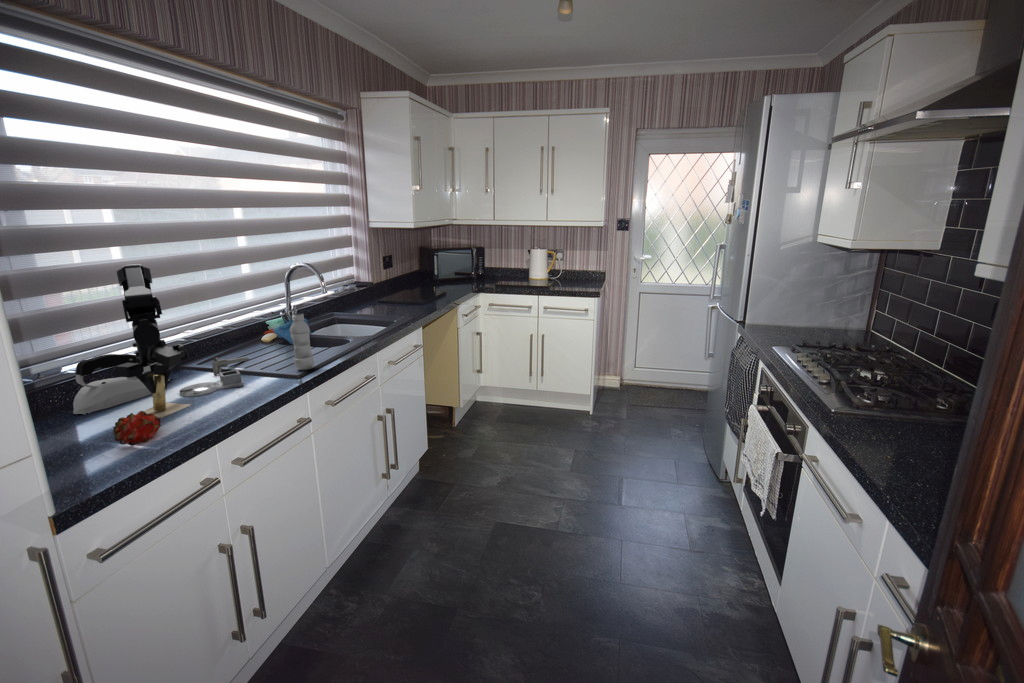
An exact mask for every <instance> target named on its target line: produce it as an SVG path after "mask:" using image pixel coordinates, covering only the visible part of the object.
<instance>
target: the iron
mask: <svg viewBox="0 0 1024 683" xmlns="http://www.w3.org/2000/svg"><path fill="white" fill-rule="evenodd" d="M136 358H137V357H136V355H135V354H125V353H124V354H123V353H121V354H119V353H118V354H117V353H115V354H114V353H109V354H101V355H98V356H94V357H91V358H87V359H82V360H81V361H78V363H77V365H76V369H75V381H76V383H77V384H78V385H81V386H82V387H81V388H80V389H79V390H78V392H77V393H76V394H75V396H74V399H73V402H72V406H73V411H72V414H73V415H77V414H83V415H87V414H86V413H88V414H91V413H93V412H97V411H100V410H105V409H109V408H112V407H115V406H118V405H121V404H125V403H128V402H131V401H134V400H137V399H142V398H144V397H146V396H149V395H153V393H151V392H150V391H149V390H148V389H147V388H146V386H145V385H144V384H143V383H142V382H141V381H140V380H139V379H138V378H137V377H136V376H135V377H131V378H127V377H113V378H112V377H111V378H104V379H100V380H94V381H90V382H89V383H87V384H86V383H85V381H84V377H86V376H90V375H93V373H94V371H95V370H97V369H108V368H115V366H118V365H121V364H125V363H137V361H136ZM168 381H169V380H168ZM169 382H170V381H169Z"/></svg>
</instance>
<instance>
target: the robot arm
mask: <svg viewBox="0 0 1024 683" xmlns="http://www.w3.org/2000/svg"><path fill="white" fill-rule="evenodd" d="M115 273H116V276H117V280H118V284H119V287H122V289H123V295H124V299H121V303H122V307H123V313H124V316H125V317H124V318H125V323H130V322H132V323H131V327H132V335H133V336H132V337H133V339H134V341H135V342H134V343H132V348H136V349H137V350H135V356H136V357H137V358H136V363H125V364H121V365H118V366H115V367H113V375H114V378H120V377H127V378H131V377H135V376H136V377H137V378H138V379H139V380H140V381H141V382H142V383H143V384H144V385H145V386H146V388H147V389H148V390H149V391H150V392H151V393H153V394H154V393H155V385H154V380H153V375H154V374H165V390H167V388H168V384H169V382H171V381H173V380H174V379H173V378H172V377H171V378H170V374H171V372H172V369H174V367H176V366H177V365H178V364H180V363H181V362H182V361H185V360H188V359H189V352H188V351H187V350H186V349H185V346H184V345H183V344H180V343H178V344H175V345H173V346H172V345H171V346H168V345H167V344H166V341H165V339H161V332H160V328H159V325H158V321H157V320H156V319H161V315H163V312H162V307H161V304H160V300H159V299H158V297H157V296H156V295H153V292H152V288H151V287H152V286H151V284H153V278H152V273H151V269H150V268H148V267H145V266H143V264H139V263H134V264H124V265H122V266H121V268H120V269H118V270H117V271H116V272H115ZM168 380H169V382H168ZM170 380H171V381H170ZM153 394H152V395H153Z"/></svg>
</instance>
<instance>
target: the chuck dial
mask: <svg viewBox="0 0 1024 683" xmlns="http://www.w3.org/2000/svg"><path fill="white" fill-rule="evenodd" d="M218 375H219V379H220V381H216V382H214V381H208V382H199V383H194V384H191V385H187V386H185V387H183V388H181V389H180V390H179V396H181V397H189V398H192V397H200V396H204V395H208V394H211V393H214V392H216V391H218V390H223V389H224V390H225V389H227V388H228V389H229V388H230V389H233V388H238V387H243V386H244V382H243V380H242V375H241V372H240V370H239V369H232V370H228V371H221V373H219V374H218Z"/></svg>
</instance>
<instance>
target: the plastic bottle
mask: <svg viewBox="0 0 1024 683" xmlns="http://www.w3.org/2000/svg"><path fill="white" fill-rule="evenodd" d="M304 315H305V314H303V313H295V314H292V316H291V317H292V319H291V320H292V321H293V322H292V323H291V325H290V326H289V334H290V337H291V341H292V344H293V350H294V352H293V353H294V361H293V362H294V363H293V364H294V367H295V368H296V370H298V371H308V370H311V369H314V367H315V359H314V356H313V352H312V348H311V341H310V340H311V339H310V333H311V332H310V330H311V329H310V327H309V325H308V323H306V322H305V317H304Z"/></svg>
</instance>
